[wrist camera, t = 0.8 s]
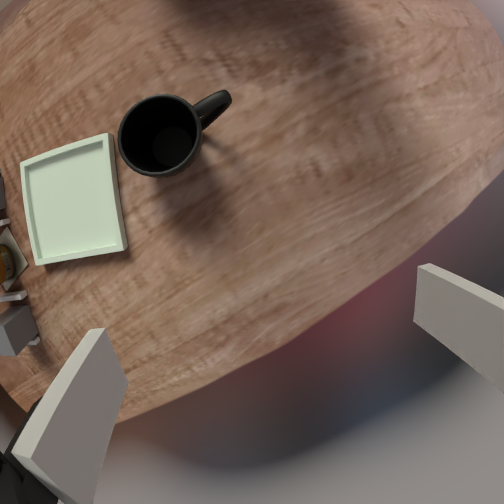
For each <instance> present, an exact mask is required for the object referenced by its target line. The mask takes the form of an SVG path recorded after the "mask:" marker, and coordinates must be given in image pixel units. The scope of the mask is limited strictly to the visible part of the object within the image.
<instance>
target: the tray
mask: <svg viewBox="0 0 504 504" xmlns="http://www.w3.org/2000/svg"><path fill="white" fill-rule="evenodd" d="M20 169H21V181H22V191H23V200H24V207H25V214H26V220H27V226H28V232H29V237H30V242H31V247H32V251H33V255H34V260H35V264H36V266H37V265H42V264H48V263H54V262H59V261H65V260H70V259H76V258H82V257H88V256H94V255H100V254H106V253H112V252H118V251H124V250H125V249H126V248H128V244H127V238H126V233H125V227H124V222H123V216H122V210H121V203H120V196H119V189H118V181H117V173H116V164H115V153H114V141H113V135H112V134H110V133H104V134H100V135H97V136H94V137H90V138H87V139H84V140H80V141H77V142H74V143H71V144H68V145H65V146H62V147H59V148H56V149H54V150H51V151H48V152H45V153H43V154H40V155H38V156H35V157H33V158H30V159H28V160H25V161H23V162H21V163H20Z"/></svg>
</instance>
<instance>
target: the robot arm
mask: <svg viewBox="0 0 504 504" xmlns="http://www.w3.org/2000/svg"><path fill="white" fill-rule="evenodd" d="M417 270H418V271H417V288H416V300H415V311H414V320H413V321H414V322H415V323H416V324H418V325H419V326H420V327H422V328H423V329H424V330H426V331H427V332H428V333H429V334H431V335H432V336H433V337H435V338H436V339H437V340H439V341H440V342H441V343H442V344H444V345H445V346H446V347H447V348H449V349H450V350H451V351H453V352H454V353H455V354H456V355H458V356H459V357H460V358H461V359H463V360H464V361H465V362H466V363H468V364H469V365H470V366H471V367H473V368H474V369H475V370H476V371H478V372H479V373H480V374H481V375H482V376H484V377H485V378H486V379H487V380H488V381H490V382H491V383H492V384H493V385H494V386H496V387H497V388H498V389H499V390H500V391H502V392H503V393H504V298H503V297H501V296H499V295H497V294H495V293H493V292H491V291H489V290H487V289H485V288H483V287H480V286H479V285H477V284H475V283H472V282H470V281H468V280H466V279H464V278H462V277H460V276H457V275H455V274H453V273H451V272H448V271H446V270H444V269H442V268H439V267H437V266H435V265H433V264H430V263H428V264H425V265H421V266H418V269H417ZM128 383H129V382H128V380H127V378H126V376H125V374H124V371H123V369H122V367H121V365H120V362H119V360H118V358H117V356H116V353H115V351H114V348H113V346H112V344H111V341H110V339H109V336H108V333H107V331H106V328H98V329H90V330H89V331H88V332H87V334H86V335H85V336H84V338H83V339H82V340H81V342H80V343H79V344H78V346H77V347H76V349H75V350H74V351H73V353H72V354H71V356H70V357H69V359H68V360H67V361H66V363H65V364H64V366H63V367H62V369H61V370H60V372H59V373H58V375H57V376H56V378H55V379H54V381H53V382H52V384H51V385H50V387H49V388H48V390H47V391H46V393H45V394H44V396H42V397H41V398H40V399H39V400H37V401H36V402H35V403H34V404H33V405H32V407H31V408H30V410H29V412H28V413H27V417H25V418H24V420H23V421H22V425H20V426H19V428H18V430H17V432H16V433H15V435H14V437H13V439H12V440H11V442H10V444H9V446H8V448H7V449H6V451H5V453H4V455H3V454H2V453H1V451H0V504H57V502H58V499H60V500H61V501H62V502H63V503H64V504H93V500H94V496H95V492H96V488H97V484H98V480H99V476H100V473H101V469H102V465H103V461H104V458H105V455H106V451H107V448H108V444H109V441H110V437H111V434H112V431H113V428H114V425H115V422H116V418H117V415H118V412H119V409H120V406H121V403H122V400H123V397H124V394H125V391H126V389H127V386H128Z"/></svg>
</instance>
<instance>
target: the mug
mask: <svg viewBox="0 0 504 504" xmlns="http://www.w3.org/2000/svg"><path fill="white" fill-rule="evenodd" d="M231 103H232V98H231V96H230V94H229V92H228V91H226V90H221V91H218V92H216V93H213V94H212V95H210V96H208V97H206V98H204V99H203V100H201V101H199V102H198V103H196V104H195V105H193V106H192V105H191V104H190V103H188V102H187V101H186V100H184V99H182V98H180V97H178V96H175V95H170V94H157V95H153V96H149V97H146V98H144V99H142V100H140V101H139V102H137V103H136V104H135V105H134V106H132V107H131V108H130V110H129V111H128V112H127V113H126V115H125V116H124V118H123V120H122V122H121V124H120V127H119V131H118V140H117V141H118V148H119V152H120V154H121V157H122V159H123V160H124V161H125V163H126V164H127V166H129V167H130V168H131V169H132V170H133V171H135V172H137V173H139V174H141V175H145V176H149V177H169V176H173V175H176V174H178V173H180V172H182V171H184V170H185V169H186V168H188V167H189V166H190V165H191V164H192V163H193V161H194V160H195V159H196V157H197V155H198V154H199V152H200V149H201V145H202V138H203V133H202V131H203V130H204V129H206V128H207V127H208V126H209V125H210V124H211V123H212V122H213V121H215V120H216V119H217V118H218V117H219V116H220V115H221V114H222V113H223V112H224V111H225V110H226V109H227V108H228V107H229V106H230V104H231ZM200 117H201V118H200ZM199 118H200V119H199Z"/></svg>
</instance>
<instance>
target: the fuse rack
mask: <svg viewBox="0 0 504 504" xmlns="http://www.w3.org/2000/svg"><path fill="white" fill-rule="evenodd" d="M0 173H1V169H0ZM5 208H6V203H5V195H4V184H3V177H0V210H2V209H5ZM9 223H10V218H7V219H3V220H0V226H3V225H6V224H9ZM27 295H28V294H27V291H26V290H25V291H18V292H10V293H4V294H3V295H1V296H0V302H3V301H13V300H22V299H23V298H24V297H26V296H27ZM38 333H39V331H38V329H37V326H36V323H35V321H34V318H33V315H32V312H31V310H30V307H29V305H23V306H12V307H10V308H8V309H7V310H6V311H4V312H3V313H2V314H1V315H0V355H6V356H17V355H18V354H19V353H20V352H21V350H22V349H23V348H24V347H25V346H26V345H37V344H38V343H39V341H40V338H39V336H36V335H37V334H38Z"/></svg>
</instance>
